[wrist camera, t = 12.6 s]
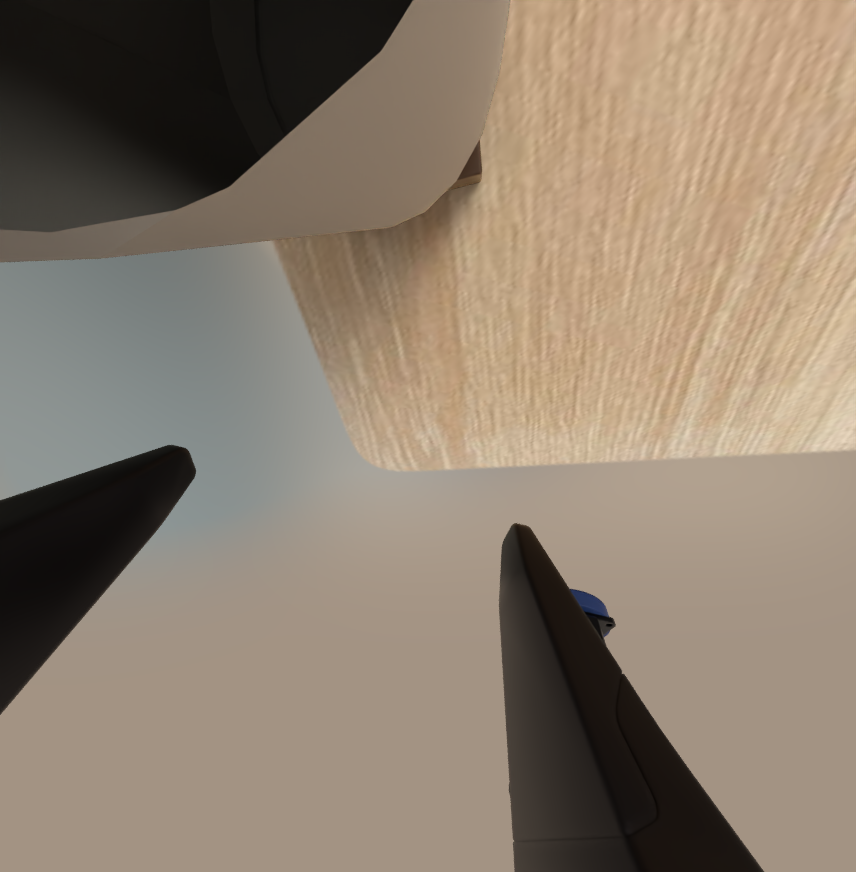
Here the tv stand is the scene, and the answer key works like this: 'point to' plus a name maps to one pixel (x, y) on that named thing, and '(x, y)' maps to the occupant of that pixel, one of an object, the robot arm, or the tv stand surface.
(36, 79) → the can
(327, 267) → the tv stand surface
